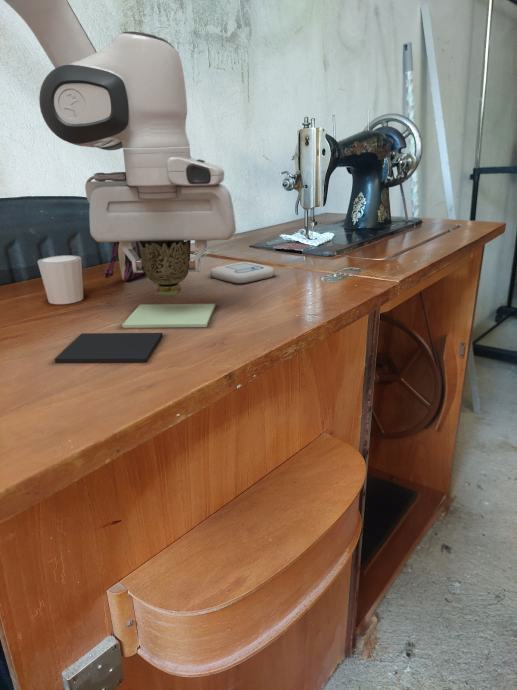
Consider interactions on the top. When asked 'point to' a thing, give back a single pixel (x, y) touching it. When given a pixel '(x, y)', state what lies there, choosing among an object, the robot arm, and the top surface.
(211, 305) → the sage mat
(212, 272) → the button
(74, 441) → the top surface
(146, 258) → the cup
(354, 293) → the top surface
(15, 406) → the top surface
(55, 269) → the white tapered cup
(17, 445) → the top surface
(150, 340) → the charcoal mat
